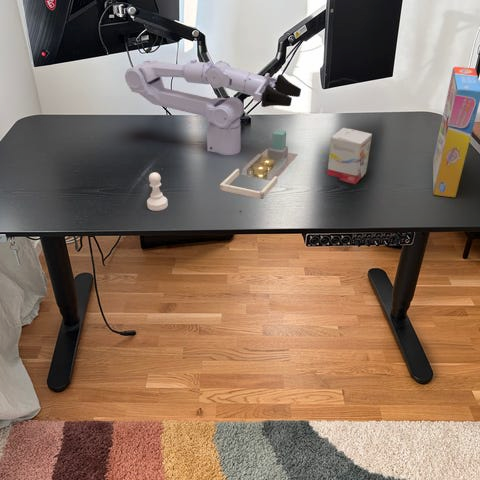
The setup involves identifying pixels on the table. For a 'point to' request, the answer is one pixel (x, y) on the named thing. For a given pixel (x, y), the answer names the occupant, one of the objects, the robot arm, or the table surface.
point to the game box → (455, 130)
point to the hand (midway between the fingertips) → (295, 97)
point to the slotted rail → (275, 171)
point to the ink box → (349, 155)
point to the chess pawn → (156, 194)
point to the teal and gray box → (278, 145)
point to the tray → (242, 191)
